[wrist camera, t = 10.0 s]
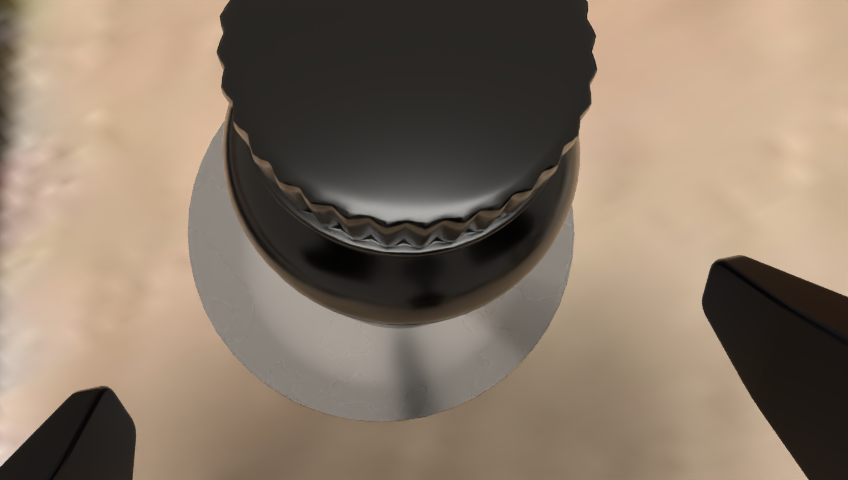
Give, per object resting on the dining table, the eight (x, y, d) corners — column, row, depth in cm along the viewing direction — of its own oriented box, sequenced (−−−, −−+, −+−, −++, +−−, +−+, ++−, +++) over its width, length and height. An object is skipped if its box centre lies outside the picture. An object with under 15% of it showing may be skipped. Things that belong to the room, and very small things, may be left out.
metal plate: (332, 492, 18) (328, 507, 17) (133, 180, 20) (113, 168, 18) (629, 276, 20) (648, 273, 19) (431, 3, 21) (434, -21, 20)
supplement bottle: (534, 196, 19) (778, -17, 7) (430, 368, 18) (514, 452, 6) (368, 92, 19) (335, -284, 7) (254, 255, 18) (-1, 122, 6)
